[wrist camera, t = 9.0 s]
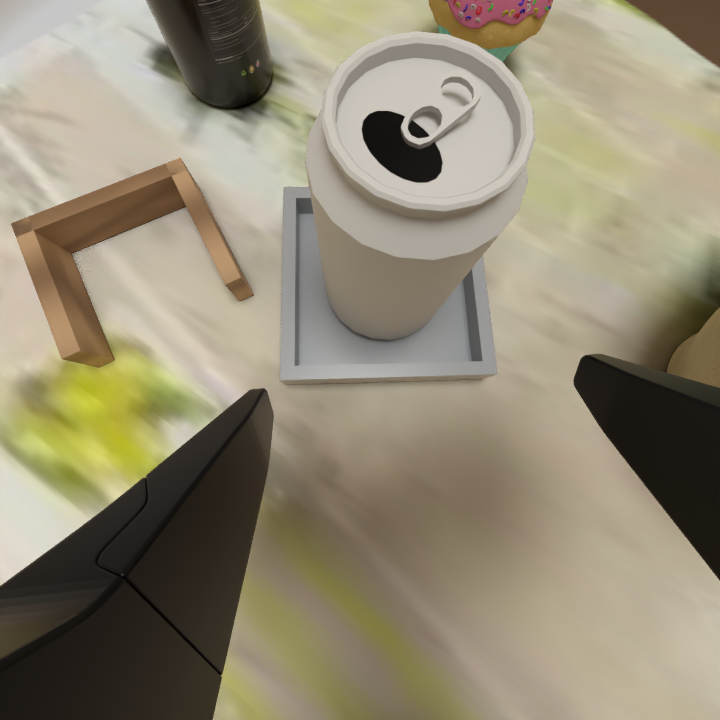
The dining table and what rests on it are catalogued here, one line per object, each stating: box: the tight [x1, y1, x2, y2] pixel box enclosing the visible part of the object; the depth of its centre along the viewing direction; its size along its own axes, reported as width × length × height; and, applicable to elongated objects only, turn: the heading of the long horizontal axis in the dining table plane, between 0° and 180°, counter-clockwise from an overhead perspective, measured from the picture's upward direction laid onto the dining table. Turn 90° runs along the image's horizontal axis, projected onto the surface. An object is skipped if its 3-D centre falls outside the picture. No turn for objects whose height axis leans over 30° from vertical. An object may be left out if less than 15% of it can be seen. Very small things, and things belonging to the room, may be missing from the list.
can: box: [305, 31, 535, 340], centre depth 14 cm, size 8×8×12 cm
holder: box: [11, 158, 254, 367], centre depth 19 cm, size 9×10×2 cm
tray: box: [280, 187, 498, 384], centre depth 20 cm, size 13×13×2 cm
